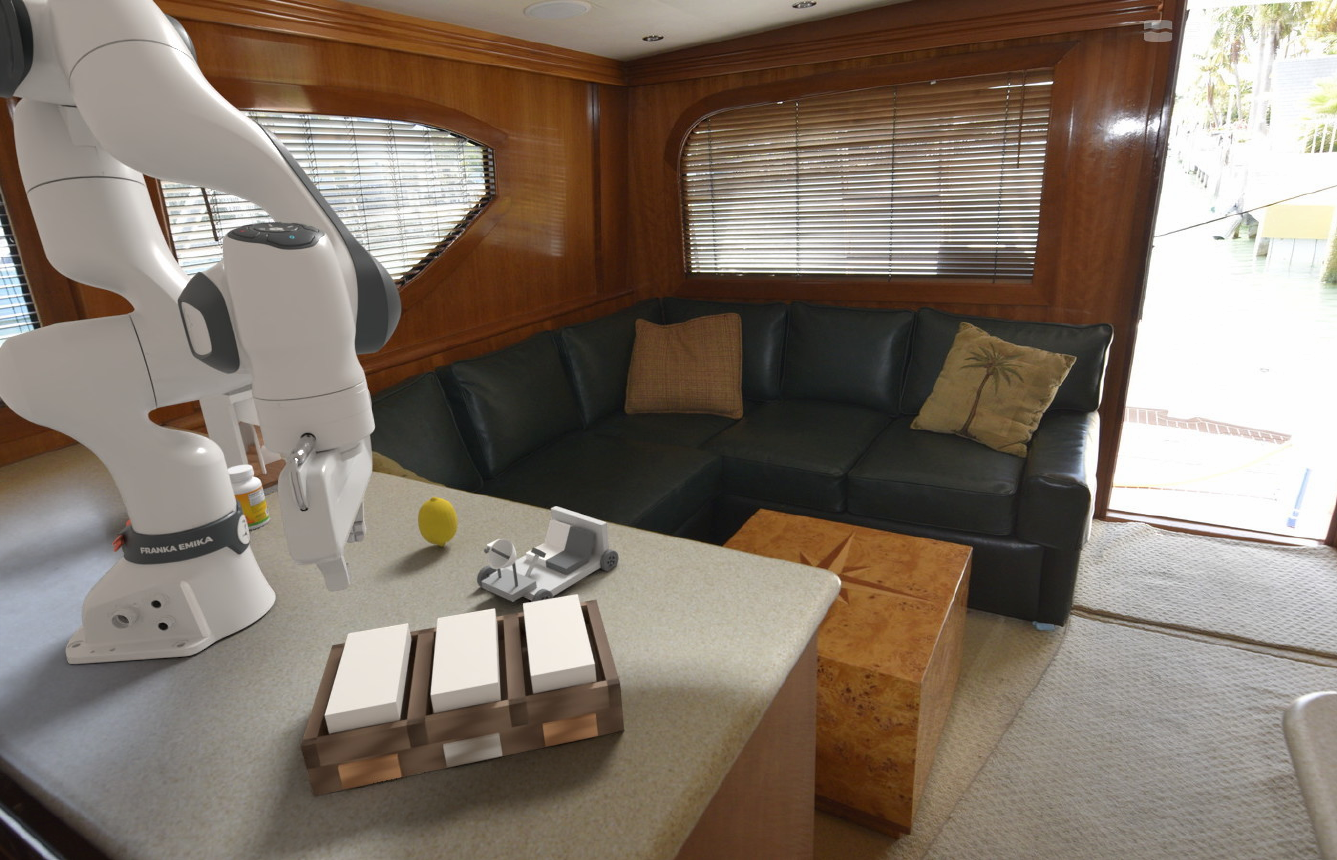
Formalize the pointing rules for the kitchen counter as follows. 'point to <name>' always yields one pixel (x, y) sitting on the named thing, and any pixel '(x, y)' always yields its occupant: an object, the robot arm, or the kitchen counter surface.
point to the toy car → (549, 559)
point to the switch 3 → (558, 644)
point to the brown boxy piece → (463, 715)
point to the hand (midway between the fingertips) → (348, 561)
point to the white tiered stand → (241, 435)
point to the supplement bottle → (249, 495)
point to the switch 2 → (466, 661)
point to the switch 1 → (370, 679)
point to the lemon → (437, 521)
